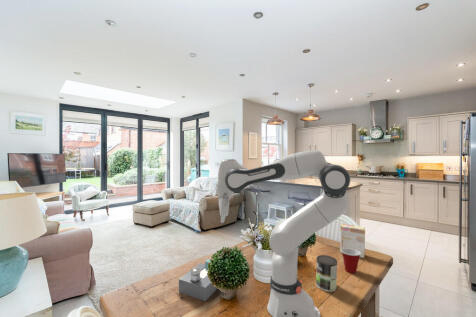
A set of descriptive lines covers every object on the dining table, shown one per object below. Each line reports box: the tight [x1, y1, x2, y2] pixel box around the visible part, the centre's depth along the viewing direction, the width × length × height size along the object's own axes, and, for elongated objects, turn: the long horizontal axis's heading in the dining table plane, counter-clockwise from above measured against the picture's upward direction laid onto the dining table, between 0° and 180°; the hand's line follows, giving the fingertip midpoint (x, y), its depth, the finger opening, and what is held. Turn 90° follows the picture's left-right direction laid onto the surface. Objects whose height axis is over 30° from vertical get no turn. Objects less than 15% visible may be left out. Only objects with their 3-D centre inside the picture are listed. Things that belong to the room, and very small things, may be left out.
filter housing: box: [178, 262, 217, 302], centre depth 115 cm, size 18×16×6 cm
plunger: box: [190, 267, 201, 283], centre depth 109 cm, size 5×5×6 cm
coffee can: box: [315, 254, 338, 293], centre depth 117 cm, size 10×10×14 cm
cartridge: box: [200, 258, 211, 278], centre depth 117 cm, size 12×5×8 cm, turn 155°
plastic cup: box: [341, 248, 361, 274], centre depth 132 cm, size 11×11×12 cm
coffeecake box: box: [339, 223, 366, 259], centre depth 155 cm, size 15×7×20 cm, turn 58°
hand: (221, 219), depth 109 cm, fingers open, 8 cm apart
